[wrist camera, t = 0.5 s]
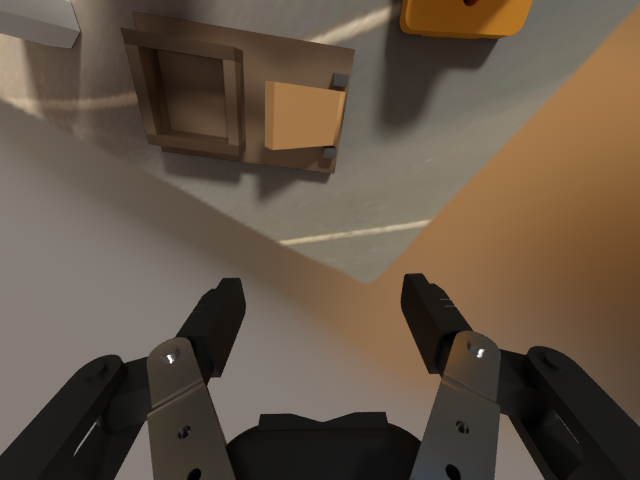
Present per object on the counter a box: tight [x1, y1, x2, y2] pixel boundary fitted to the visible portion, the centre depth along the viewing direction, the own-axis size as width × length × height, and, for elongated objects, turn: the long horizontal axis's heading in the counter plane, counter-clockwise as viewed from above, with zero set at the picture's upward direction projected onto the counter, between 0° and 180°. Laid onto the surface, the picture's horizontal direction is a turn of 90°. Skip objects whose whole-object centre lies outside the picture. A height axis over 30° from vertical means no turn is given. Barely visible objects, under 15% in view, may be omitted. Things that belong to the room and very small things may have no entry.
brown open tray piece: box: [121, 12, 355, 173], centre depth 25 cm, size 12×20×5 cm, turn 83°
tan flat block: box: [265, 80, 346, 150], centre depth 23 cm, size 5×9×1 cm
